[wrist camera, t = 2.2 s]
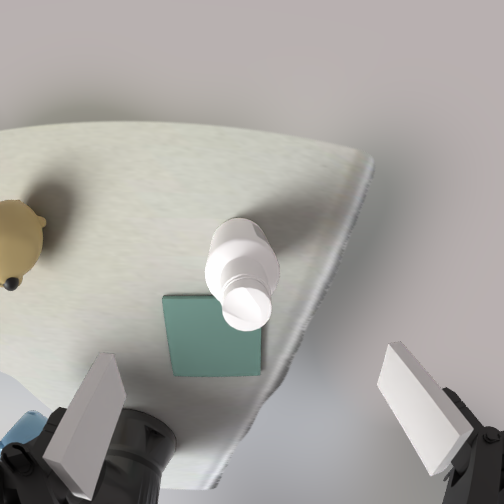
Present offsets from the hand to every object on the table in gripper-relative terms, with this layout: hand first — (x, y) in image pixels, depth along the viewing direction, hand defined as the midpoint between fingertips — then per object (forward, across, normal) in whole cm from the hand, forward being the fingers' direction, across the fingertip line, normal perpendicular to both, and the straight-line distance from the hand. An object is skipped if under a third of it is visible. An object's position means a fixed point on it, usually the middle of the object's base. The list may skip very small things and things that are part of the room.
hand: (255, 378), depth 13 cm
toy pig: (+26, +31, -2) cm, 40 cm away
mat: (+26, +4, +14) cm, 29 cm away
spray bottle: (+26, 0, 0) cm, 26 cm away
